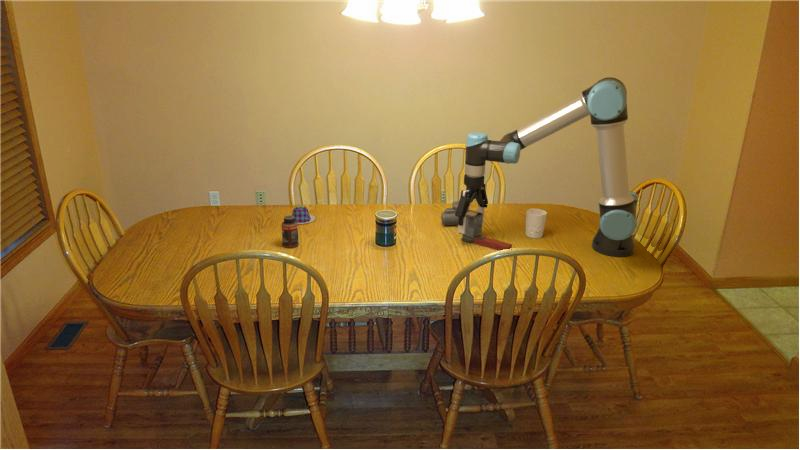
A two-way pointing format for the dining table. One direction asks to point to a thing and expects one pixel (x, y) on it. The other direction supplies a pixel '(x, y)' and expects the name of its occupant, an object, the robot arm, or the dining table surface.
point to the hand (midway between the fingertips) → (470, 227)
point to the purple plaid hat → (302, 215)
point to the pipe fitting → (450, 215)
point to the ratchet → (486, 242)
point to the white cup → (535, 222)
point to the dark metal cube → (473, 223)
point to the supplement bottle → (290, 232)
